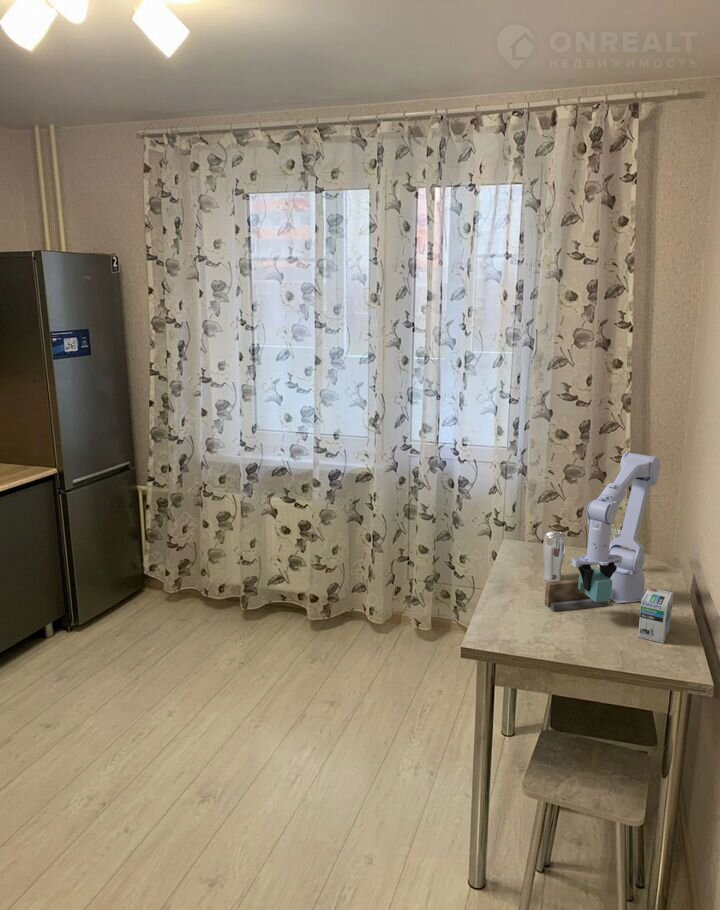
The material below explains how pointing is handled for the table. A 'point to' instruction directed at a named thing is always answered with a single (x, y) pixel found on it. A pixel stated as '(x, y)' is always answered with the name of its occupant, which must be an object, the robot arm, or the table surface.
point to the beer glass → (553, 555)
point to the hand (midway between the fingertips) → (594, 588)
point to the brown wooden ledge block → (568, 596)
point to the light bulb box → (655, 615)
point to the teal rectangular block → (598, 587)
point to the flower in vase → (617, 532)
